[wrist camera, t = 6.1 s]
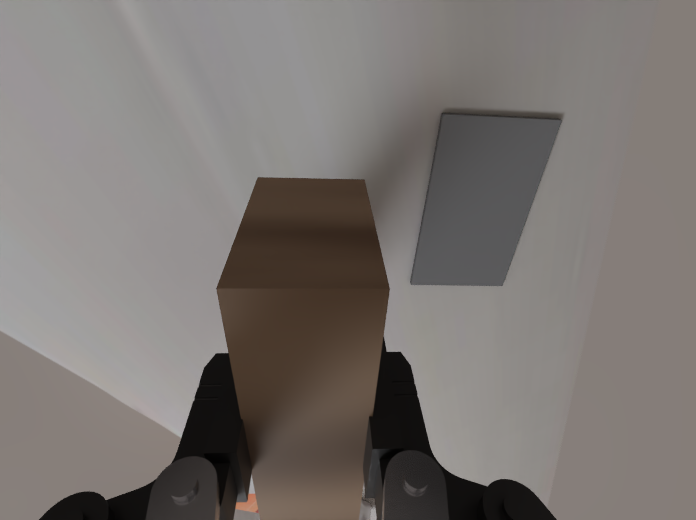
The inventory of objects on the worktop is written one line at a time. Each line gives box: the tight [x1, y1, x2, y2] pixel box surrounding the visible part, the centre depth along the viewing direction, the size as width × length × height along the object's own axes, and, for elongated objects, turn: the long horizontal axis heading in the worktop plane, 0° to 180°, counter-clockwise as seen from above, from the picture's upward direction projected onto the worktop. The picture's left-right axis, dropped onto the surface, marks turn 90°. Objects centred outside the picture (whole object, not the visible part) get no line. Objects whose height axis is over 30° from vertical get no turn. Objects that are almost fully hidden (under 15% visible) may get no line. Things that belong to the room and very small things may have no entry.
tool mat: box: [410, 113, 562, 286], centre depth 40 cm, size 19×11×1 cm, turn 177°
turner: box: [216, 177, 390, 520], centre depth 13 cm, size 17×7×5 cm, turn 177°
